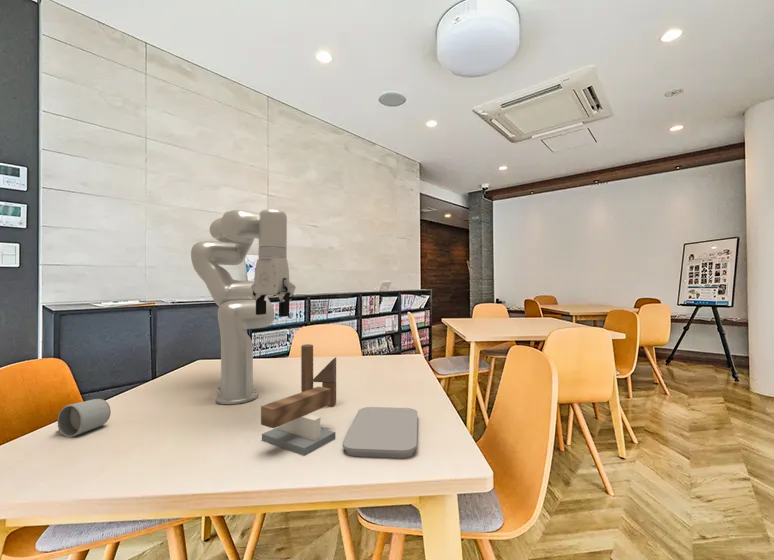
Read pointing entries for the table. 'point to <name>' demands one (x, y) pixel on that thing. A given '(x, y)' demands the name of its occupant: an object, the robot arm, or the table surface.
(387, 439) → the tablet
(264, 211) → the robot arm
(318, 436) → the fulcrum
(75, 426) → the grey hollow cylinder
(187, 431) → the table surface
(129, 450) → the table surface
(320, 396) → the walnut bar
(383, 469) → the table surface
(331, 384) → the brown wooden block stack
